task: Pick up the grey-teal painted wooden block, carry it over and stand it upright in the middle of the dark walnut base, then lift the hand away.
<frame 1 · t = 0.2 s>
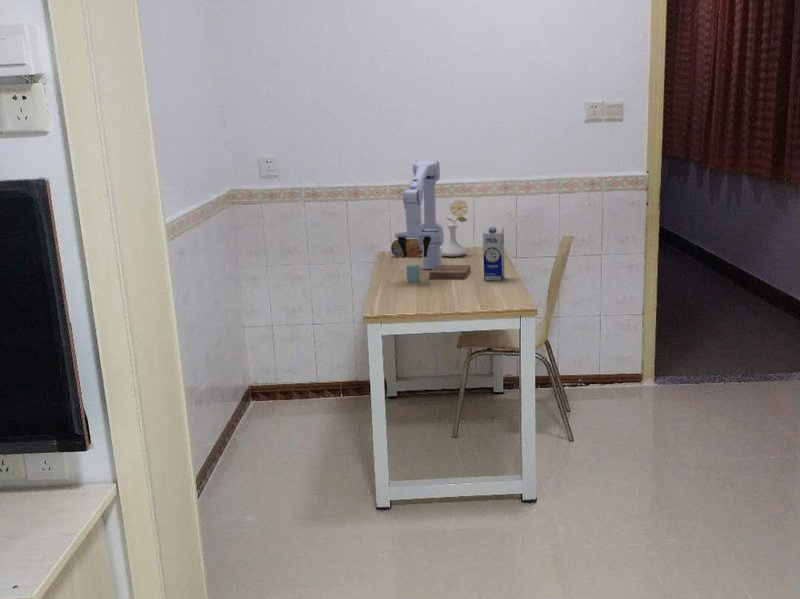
hand: (415, 256, 301), 10 cm above the table, tool pointing down, fingers open, 7 cm apart
milk carton: (494, 279, 301), on the table
flower in vase: (455, 256, 350), on the table
walnut base: (450, 275, 311), on the table
tin: (408, 257, 354), on the table
teal block: (413, 280, 306), on the table
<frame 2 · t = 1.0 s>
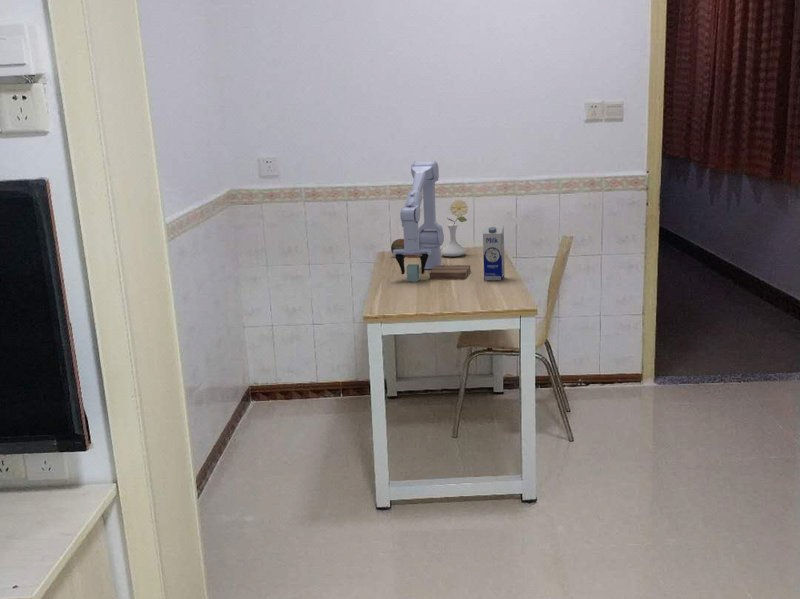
hand: (413, 273, 305), 3 cm above the table, tool pointing down, fingers open, 7 cm apart
nothing on the table moved.
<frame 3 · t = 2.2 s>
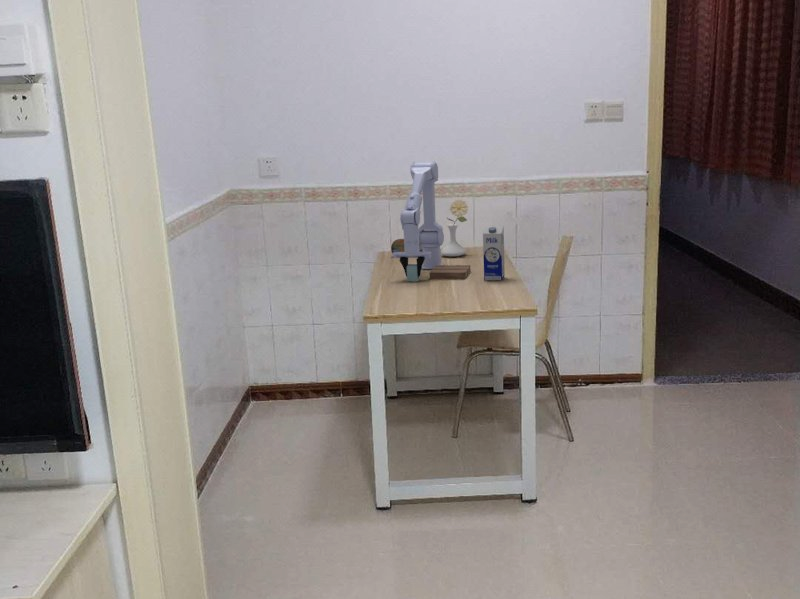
hand: (413, 276, 305), 2 cm above the table, tool pointing down, fingers closed on teal block, 4 cm apart
teal block: (413, 280, 305), on the table, touching gripper
everything else where it was.
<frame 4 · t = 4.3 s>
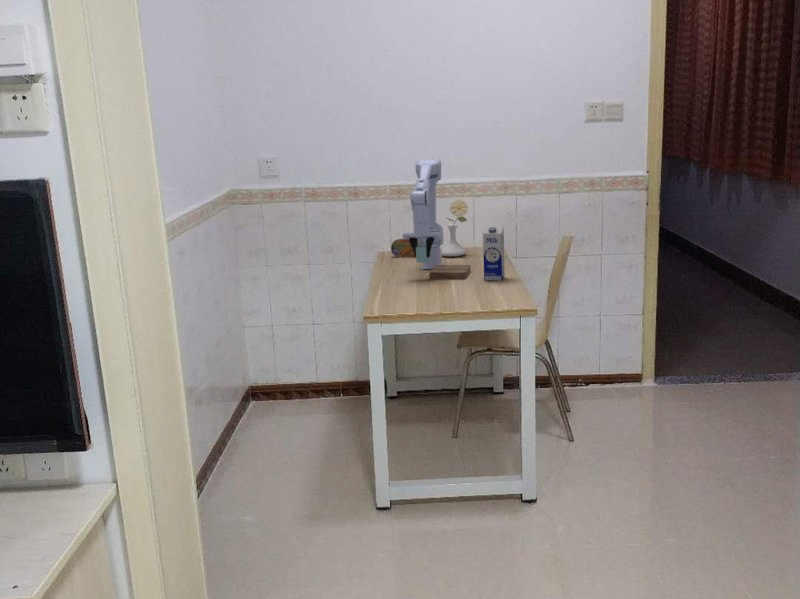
hand: (422, 257, 305), 9 cm above the table, tool pointing down, fingers closed on teal block, 4 cm apart
teal block: (422, 261, 305), point 7 cm above the table, touching gripper
everything else where it was.
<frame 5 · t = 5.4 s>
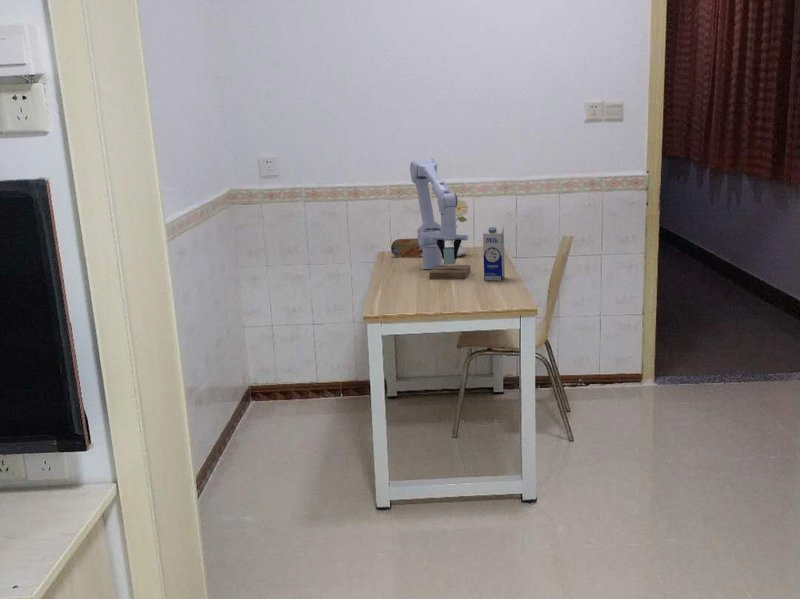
hand: (449, 258, 310), 7 cm above the table, tool pointing down, fingers closed on teal block, 4 cm apart
teal block: (449, 263, 310), point 5 cm above the table, touching gripper
everything else where it was.
when the fingers open (5 cm above the table, at t = 6.4 s): teal block stays where it is, resting on walnut base.
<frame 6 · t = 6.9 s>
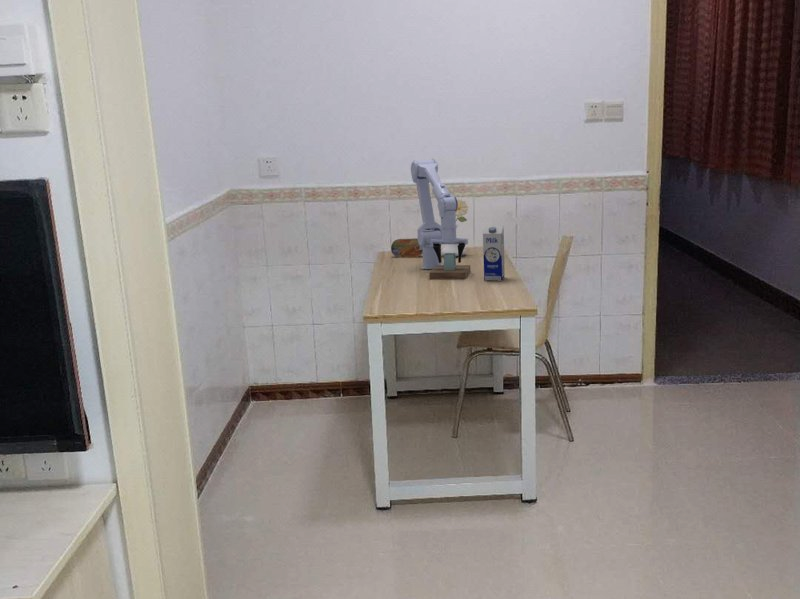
hand: (449, 262, 310), 5 cm above the table, tool pointing down, fingers open, 7 cm apart
teal block: (450, 269, 310), point 2 cm above the table, touching walnut base
everything else where it was.
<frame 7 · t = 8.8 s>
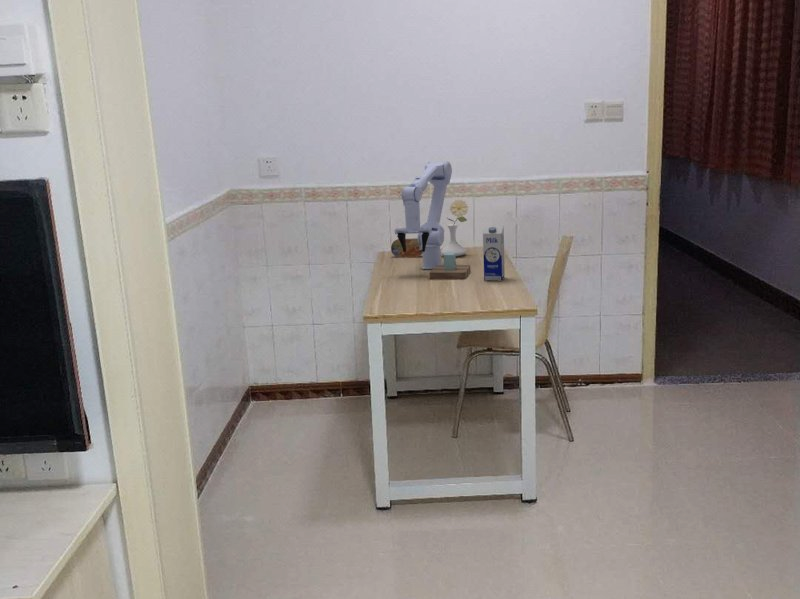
hand: (414, 251, 313), 9 cm above the table, tool pointing down, fingers open, 7 cm apart
nothing on the table moved.
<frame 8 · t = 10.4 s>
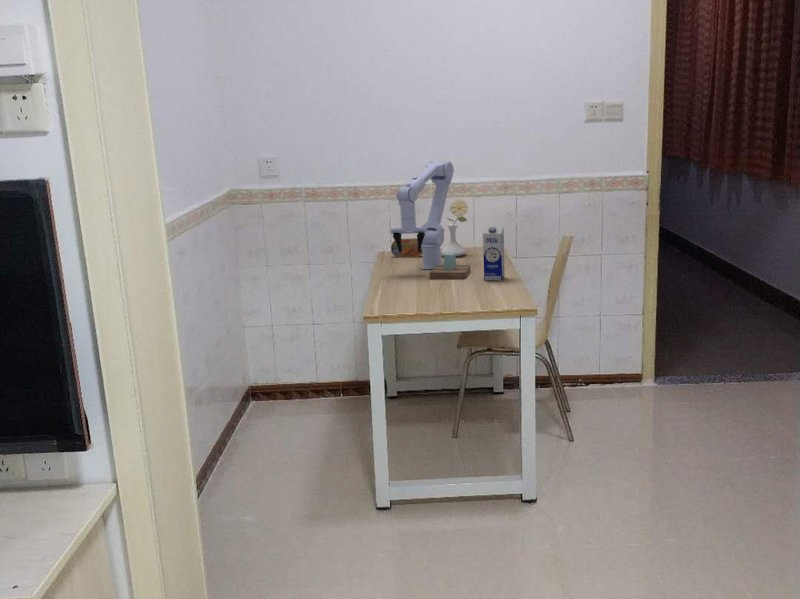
hand: (409, 251, 313), 9 cm above the table, tool pointing down, fingers open, 7 cm apart
nothing on the table moved.
at the end: teal block inside the target area on the walnut base (0.1 cm from its centre), point 2.5 cm above the walnut base's base; teal block tilted 0°; the gripper is holding nothing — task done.
